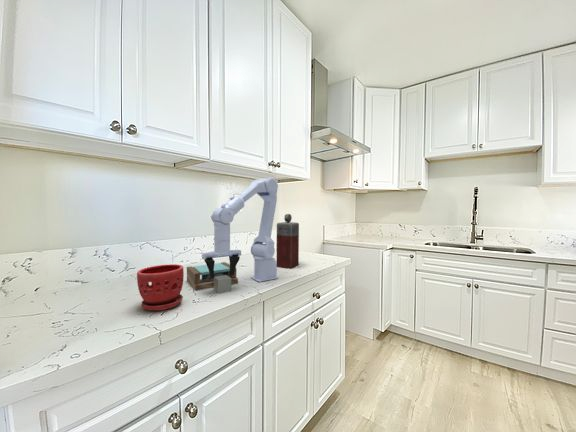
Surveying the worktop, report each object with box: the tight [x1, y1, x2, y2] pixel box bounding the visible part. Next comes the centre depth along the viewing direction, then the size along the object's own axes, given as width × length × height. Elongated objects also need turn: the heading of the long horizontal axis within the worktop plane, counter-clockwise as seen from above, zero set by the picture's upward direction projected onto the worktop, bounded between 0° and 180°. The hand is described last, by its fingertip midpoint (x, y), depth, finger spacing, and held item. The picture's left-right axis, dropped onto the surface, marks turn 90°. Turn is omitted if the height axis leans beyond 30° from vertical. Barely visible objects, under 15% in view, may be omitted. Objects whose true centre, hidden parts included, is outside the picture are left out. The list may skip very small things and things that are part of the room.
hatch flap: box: [192, 262, 230, 281], centre depth 103 cm, size 12×12×3 cm
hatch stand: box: [186, 261, 239, 291], centre depth 103 cm, size 17×15×6 cm
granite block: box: [213, 275, 232, 294], centre depth 93 cm, size 5×5×5 cm
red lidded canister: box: [275, 213, 300, 270], centre depth 132 cm, size 9×11×28 cm
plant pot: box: [136, 263, 185, 312], centre depth 78 cm, size 13×13×12 cm
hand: (222, 276), depth 92 cm, fingers open, 7 cm apart
